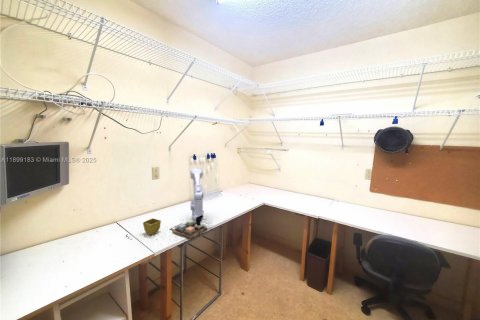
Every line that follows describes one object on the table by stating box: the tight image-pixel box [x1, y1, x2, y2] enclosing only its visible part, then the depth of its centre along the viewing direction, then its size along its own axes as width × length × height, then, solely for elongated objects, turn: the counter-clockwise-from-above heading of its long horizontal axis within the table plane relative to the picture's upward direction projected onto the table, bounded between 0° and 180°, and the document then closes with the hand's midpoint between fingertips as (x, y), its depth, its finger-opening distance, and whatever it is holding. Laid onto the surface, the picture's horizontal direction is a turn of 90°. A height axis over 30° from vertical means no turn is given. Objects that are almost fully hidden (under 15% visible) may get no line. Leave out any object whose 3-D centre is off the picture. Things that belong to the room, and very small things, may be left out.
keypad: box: [171, 223, 208, 241], centre depth 147 cm, size 18×18×4 cm
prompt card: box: [169, 222, 183, 231], centre depth 154 cm, size 12×4×1 cm, turn 151°
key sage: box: [185, 219, 195, 226], centre depth 153 cm, size 4×4×2 cm
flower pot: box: [142, 218, 162, 236], centre depth 143 cm, size 9×9×9 cm
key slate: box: [177, 223, 186, 230], centre depth 145 cm, size 4×4×2 cm
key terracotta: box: [186, 226, 195, 233], centre depth 141 cm, size 4×4×2 cm
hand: (198, 225), depth 149 cm, fingers closed, pressing on key cream
